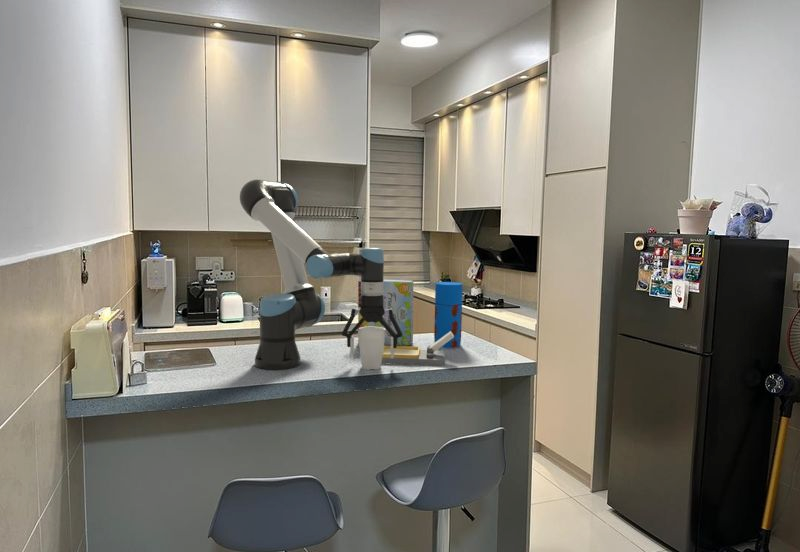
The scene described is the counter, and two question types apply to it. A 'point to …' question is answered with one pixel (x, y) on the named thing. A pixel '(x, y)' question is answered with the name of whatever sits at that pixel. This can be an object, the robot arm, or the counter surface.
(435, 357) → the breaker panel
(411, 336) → the snack box
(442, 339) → the lever
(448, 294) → the thermos
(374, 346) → the foam cup
